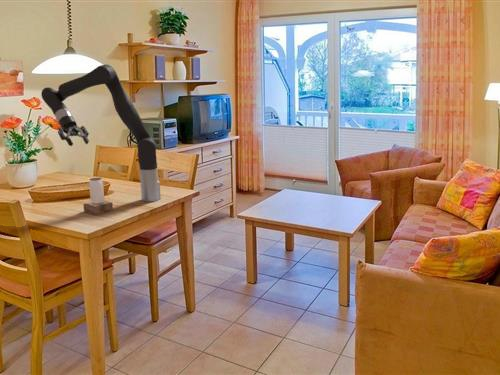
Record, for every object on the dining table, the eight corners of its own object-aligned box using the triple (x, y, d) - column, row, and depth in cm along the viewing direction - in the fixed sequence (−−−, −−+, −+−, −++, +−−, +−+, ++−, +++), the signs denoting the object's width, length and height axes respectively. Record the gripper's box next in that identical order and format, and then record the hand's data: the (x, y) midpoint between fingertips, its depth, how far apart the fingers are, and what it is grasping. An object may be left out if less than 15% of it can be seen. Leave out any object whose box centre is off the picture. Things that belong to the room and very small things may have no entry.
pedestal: (101, 207, 247) (100, 199, 246) (113, 210, 241) (112, 202, 240) (84, 211, 240) (83, 203, 239) (95, 215, 233) (94, 206, 232)
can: (106, 200, 243) (104, 177, 240) (102, 204, 236) (100, 180, 233) (93, 201, 242) (91, 177, 240) (89, 204, 236) (87, 180, 233)
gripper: (54, 115, 237) (68, 140, 232) (80, 113, 247) (95, 137, 243) (50, 125, 241) (64, 150, 237) (76, 123, 252) (90, 147, 247)
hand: (79, 144), depth 240 cm, fingers open, 8 cm apart
